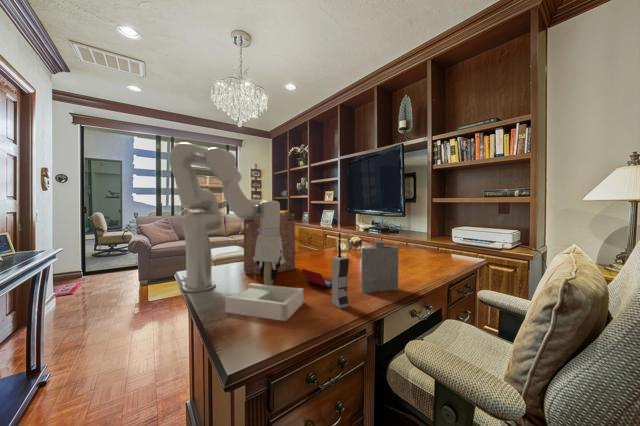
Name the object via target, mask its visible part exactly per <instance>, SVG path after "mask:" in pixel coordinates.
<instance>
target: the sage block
mask: <svg viewBox="0 0 640 426" xmlns="http://www.w3.org/2000/svg"><path fill="white" fill-rule="evenodd" d="M234 296H236V297H244V298H252V299H260V300H268V301H272V300H271V291H267V290H260V289H254V288H249V287H248V289H246V290H243V291H241V292H239V293H237V294H235V295H234Z"/></svg>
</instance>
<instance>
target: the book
mask: <svg viewBox="0 0 640 426" xmlns="http://www.w3.org/2000/svg"><path fill="white" fill-rule="evenodd" d="M295 217H296V214H295V213H291V212H280V225H279V236H281V241H282V255H283V257H284V259H285V261H286V262H285V263H284V264H282V265H281V266H280V267H279V270H278V273H280V272H282V273H283V272H294V271H295V269H296V264H295V262H296V254H295V253H296V248H295V246H296V243H295V242H296V240H295V239H296V237H295V236H296V234H295V231H296V229H295V228H296V227H295V225H296V221H295V219H296V218H295ZM258 228H260V218H252V219H243V270H244V271H245V272H244V274H245V276H249V275H250V276H251V275H252V274H253V275H260V268H259V265H258V264H257V263H256V262H255V261H254V260H253V257H254V256H255V247H256V241H257V237H258V235H260V234H259V233H260V232H258V231H257V229H258Z"/></svg>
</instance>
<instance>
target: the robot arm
mask: <svg viewBox="0 0 640 426" xmlns="http://www.w3.org/2000/svg"><path fill="white" fill-rule="evenodd" d="M168 159H169V161H168V163H169V166H170V170H171V173H172V175H173V177H174V181H175V185H176V189H177V192H178V193H177V194H178V196H179V202H180V204H181V206H182V208H184V209H185V210H191V211H195V212H192V213H189V214H188V215H187V214H186V216H185V217H184V218H183V220H182V229H183V236H184V241H185V242H184V243H185V265H186V267H185V268H186V270H185V271H186V275H183V276H182V277H181V278H180V282H182V283H184V285H182V291H183V292H185V293H198V292H199V293H200V292H205V291H208V290H211V289H213V288H215V287H216V282H215V281H214V280H213V279H212V278H213V277H212V246H211V245H212V243H211V240H210V238H209V235H208V234H213V233H216V232H218V231H219V230H220V229H221V227H222V223H223V222H222V214H221V212H220V211H221V210H220V208H219V207H220V206H219V202H218V200H217V197H216V195H215V194H214V192H213V191H212V190H210V189H208V188H203V187H201V185H200V183H199V177H198V175H197V173H196V172H195V170H194V169H193V166H196V167H200V168H205V169H206V168H207V169H210V170H211V171H212V174H214V176H215V177H216V179H217V180H218V181H219V183H220V185H221V186H222V192H223V193H222V194H223V197H224V200H225V202H226V203H227V205H228V207H229V208H230V210H231V211H232V212H233V213H234V215H235V216H237V218H239V219H243V220H244V219H252V218H260V228H258V229H257V231H258V232H260V233H259V234H260V235H258V237H257V241H256V247H255V256H254V257H253V260H254V261H255V262H256V263H257V264H258V265H259V268H260V274H259V276H260V279H263V278H264V262H272V266H273V269H272V271H271V279H272V280H274V279H276V277H277V278H278V276H277V269H278V268H279V267H280V266H281V265H282V264H284V263H285V262H286V261H285V259H284V257H283V255H282V241H281V236H279V225H280V213H281V204H280V202H279V201H277V200H262V199H261V200H260V199H248V198H247V197H246V195H245V194H244V193H243V191H242V189H241V187H240V181H241V180H242V174H241V172H240V171H239V170H238V168H237V167H236V166H237V158H236V155H234V154H233V153H232V152H231V151H230V150H229V151H228V150H226V149H223V148H220V147H214V146H213V147H209V148H206V147H203V146H200V145H197V144H194V143H190V142H178V143H177V144H175V145H174V146H173V147H172V148H171V151H170V153H169V158H168ZM196 211H197V212H196ZM279 260H280V262H279V263H278V261H279Z"/></svg>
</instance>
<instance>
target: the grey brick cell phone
mask: <svg viewBox="0 0 640 426" xmlns="http://www.w3.org/2000/svg"><path fill="white" fill-rule="evenodd" d="M341 241H342V239H341V233H338V247H337V248H338V249H337V250H338V252H337V253H338V254H337V255H335V256H332V258H331V261H332V262H331V266H332V267H331V269H332V271H331V272H332V273H331V277H332V279H331V280H332V281H331V282H332V288H331V290H332V291H331V294H332V295H331V297H332V298H331V300H332V301H331V302H332V304H333V305H334V306H335V307H337V308H339V309H343V308H348V307H349V306H350V302H349V298H348V276H349V275H348V273H349V267H350V258H349V257H346V256H343V255H342V247H341V245H342V244H341Z"/></svg>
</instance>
